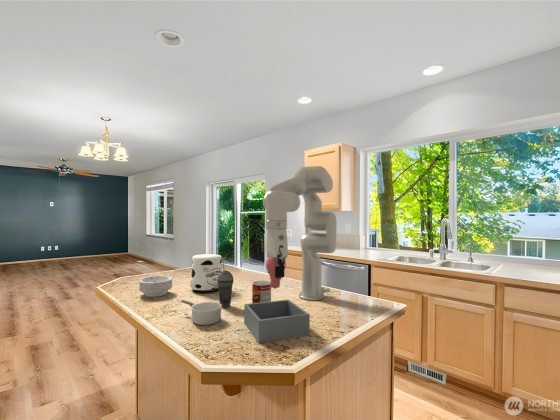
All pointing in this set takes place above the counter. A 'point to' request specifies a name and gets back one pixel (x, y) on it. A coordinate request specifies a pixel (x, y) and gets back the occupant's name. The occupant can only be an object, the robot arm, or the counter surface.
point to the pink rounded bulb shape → (273, 272)
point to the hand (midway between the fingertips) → (275, 274)
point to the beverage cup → (225, 287)
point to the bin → (276, 320)
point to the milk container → (205, 272)
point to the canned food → (261, 291)
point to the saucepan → (205, 312)
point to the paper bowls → (155, 285)
